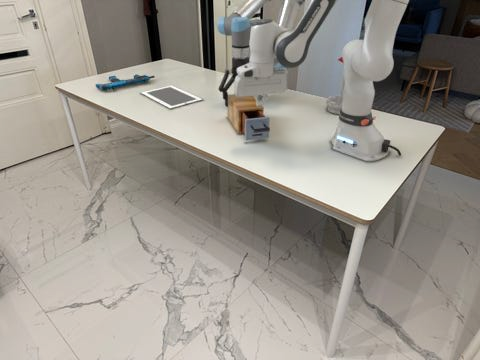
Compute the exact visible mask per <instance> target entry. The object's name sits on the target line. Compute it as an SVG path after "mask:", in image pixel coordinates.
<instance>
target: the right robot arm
mask: <svg viewBox="0 0 480 360" xmlns="http://www.w3.org/2000/svg"><path fill="white" fill-rule="evenodd" d="M337 2H338V0H310V2H309V5H308V8H307V9H306V11H305V12H304V13H303V16H302V17H301V19H300V20H299V22H298V24H297V25H296V27H295V28H294V29H293V30H289V29H286V28H284V27H282V26H280V25H278V24H277V22H276V21H275V20H274V19H271V18H269V19H268V18H267V19H262V20H260V21H258V22H255V23H254V24H253V26H252V28H251V33H250V41H249V53H251V55H250V59H249V63H247V64H245V65H243V66H240V67H238V68H237V74H238V75H237V76H236V77H235V81H234V82H233V94H235V95H236V96H237V97H246V96H253V97H254V98H255V100H256V106H263V107H264V106H265V105H266V100H268V97H269V95H275V94H285V93H286V92H287V91H288V75H289V74H288V73H289V70H288V69H294V68H297V67H299V66H301V65H302V64H303V63H304V62H305V60H306V59H307V56H308V53H309V49H310V46H311V43H312V41H313V39H314V37H315V36H316V34H317V33H318V31H319V29H320V28H321V26H322V25H323V23H324V22H325V20H326V18H327V17H328V15H329V14H330V12H331V11H332V9H333V8H334V6H335V5H336V3H337ZM409 2H410V0H371V3H370V5H369V8H368V10H367V12H366V15H365V18H364V35H363V39H353V40H350V41H349V42H348V43H346V44H345V46H344V47H343V49H342V51H341V57H342V59H343V63H342V64H343V71H344V91H343V97H342V98H343V102H342V108H341V109H340V113H339V114H338V122H337V123H338V124H337V127H336V130H335V132H334V135H333V137H332V139H331V144H332V149H333V150H334V151H336V152H340V153H343V154H344V155H345V154H346V155H348V156H351V157H354V158H356V159H359V160H361V161H365V162H374V161H379V160H381V159H383V158H385V157H387V155H388V154H389V152H390V150H389V148H390V149H393V150H394V151H395V152H397V155H398V157H400V156H402V153H401V151H400V149H399V148H397V147H396V146H394V145H391V140H390V139H385V138H384V135H383V134H382V133H381V131H379V128H377V126H376V125H375V124H374V121H375V120H376V119H377V116H373V113H372V109H373V104H374V100H375V95H376V90H375V86H374V82H381V81H384V80H385V79H387V77H388V76H390V75H391V73H392V72H393V69H394V66H395V65H394V63H395V61H394V57H393V50H394V46H395V45H394V44H395V38H396V34H397V31H398V28H399V25H400V23H401V20H402V18H403V16H404V14H405V12H406V9H407V7H408V4H409ZM275 58H277V60H278V62H279V63H280V64H281V65H282V66H284V67H286V68H288V69H285V68H284V67H281V68H274V59H275ZM284 69H285V70H284ZM287 70H288V71H287ZM259 95H262V99H261V100H258V99H257V98H259Z"/></svg>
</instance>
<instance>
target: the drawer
mask: <svg viewBox="0 0 480 360" xmlns="http://www.w3.org/2000/svg"><path fill="white" fill-rule="evenodd" d="M241 130H242V131H243V135H244V141H255V140H261V139H268V138H269V137H270V136H269V135H270V131H271V128H270V117H269V116H265V113H264V112H263V113H262V112H261V111H260V110H255V111H246V112H241Z"/></svg>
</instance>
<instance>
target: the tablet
mask: <svg viewBox="0 0 480 360" xmlns="http://www.w3.org/2000/svg"><path fill="white" fill-rule="evenodd" d="M140 94H142V95H143V96H145V97H147V98H149V99H150V100H152V101H155V102H156V103H158V104H160V105H161V106H163V107H166V108H167V109H170V110H172V109H177V108H178V107H179V108H180V107H183V106H186V105H190V104H194V103H197V102H200V101H203V100H204V99H203V98H200V97H199V96H196V95H194V94H192V93H190V92H188V91H186V90H184V89H181V88H179V87H177V86H174V85H167V86H163V87H159V88H154V89H150V90H146V91H142V92H140Z"/></svg>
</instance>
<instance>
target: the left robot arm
mask: <svg viewBox="0 0 480 360" xmlns="http://www.w3.org/2000/svg"><path fill="white" fill-rule="evenodd" d="M305 1H306V0H281V2H282V3H281V5H280V9H279V13H278V16H277V20H276V23H277V24H278V25H280V26H282V27H284V28H286V29H289V30H292V31H294V27H295V24H296V20H297V17H298V13H299V10H300V8H301V7H304V5H305ZM268 2H272V0H244V1H242V3H240V5H239V6H238V7H237V8H235V10H233V11H232V13H231V14H229V16H221V17H219V18H218V20H217V25H216V27H217V31H218V33H219V34H221V35H224V36H227V37H231V57H232V58H231V69H228V68H225V69H224V74H223V77H222V79H221V82H220V84H219V86H218V91H219V92H220V93H222V99H223V100H224V105H225V107H226V108H227V107H228V95H229V93H228V90H229V89H230V88H231V86H233V85H234V82H235V77H236V76H237V75H238V74H237V68H238V67H240V66H243V65H245V64H247V63H249V59H250V55H251V52H250V33H251V28H252V26H253V24H254V23H255V22H258V21H260V20H263V19H262V18H254V19H252V18H253V17H254V16H255V15H256V14H257V13H258V12H259V11H260V10H261V9H262V8H263V7H264V6H265V5H266V4H267V3H268ZM281 67H284V66H282V65H281V64H280V63H279V62H278V60H277V58H275V59H274V68H281ZM284 68H285V69H287V71H288V72H289V70H288V69H289V68H286V67H284ZM285 69H284V70H285ZM230 75H231V77H230V79H228V78H229V76H230ZM262 98H263V95H259V98H257V99H258V100H262Z"/></svg>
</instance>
